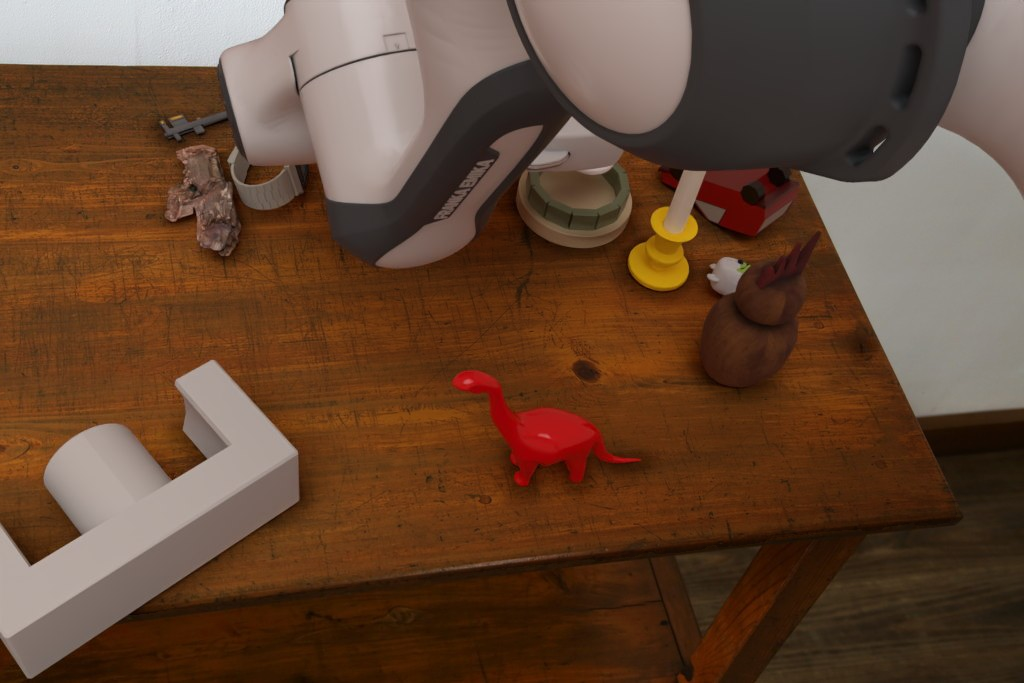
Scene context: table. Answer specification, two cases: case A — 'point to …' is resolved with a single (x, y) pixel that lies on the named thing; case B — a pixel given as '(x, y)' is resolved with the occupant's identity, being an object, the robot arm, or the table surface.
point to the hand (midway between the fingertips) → (623, 46)
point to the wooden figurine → (756, 320)
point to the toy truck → (742, 196)
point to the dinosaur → (539, 432)
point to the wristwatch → (268, 184)
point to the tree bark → (205, 199)
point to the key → (189, 124)
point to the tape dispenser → (142, 518)
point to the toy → (731, 277)
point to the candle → (668, 239)
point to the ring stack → (575, 206)
